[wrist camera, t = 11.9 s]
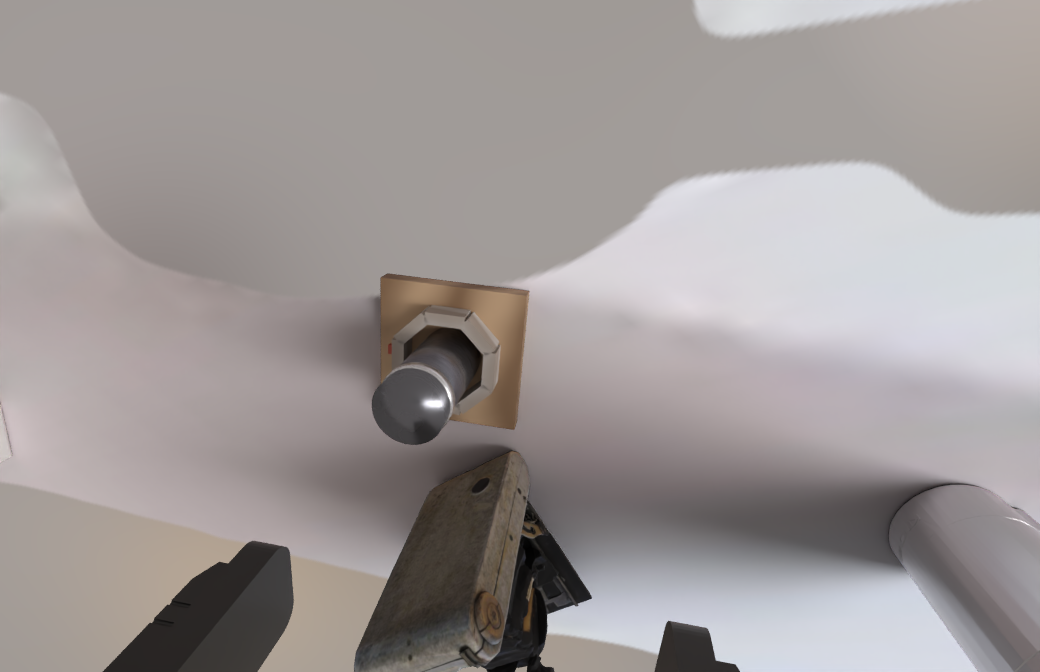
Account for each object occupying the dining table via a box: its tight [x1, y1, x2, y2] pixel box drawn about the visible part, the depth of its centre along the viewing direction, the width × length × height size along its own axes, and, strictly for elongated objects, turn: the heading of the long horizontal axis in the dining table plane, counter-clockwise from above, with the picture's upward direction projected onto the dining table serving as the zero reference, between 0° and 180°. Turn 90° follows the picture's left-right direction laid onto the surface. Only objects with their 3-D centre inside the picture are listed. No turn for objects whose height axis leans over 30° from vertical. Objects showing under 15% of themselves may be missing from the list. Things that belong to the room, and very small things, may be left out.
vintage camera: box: [354, 451, 592, 672], centre depth 42 cm, size 10×15×20 cm, turn 31°
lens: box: [372, 328, 481, 445], centre depth 40 cm, size 5×5×10 cm
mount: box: [381, 274, 529, 430], centre depth 44 cm, size 12×12×4 cm
